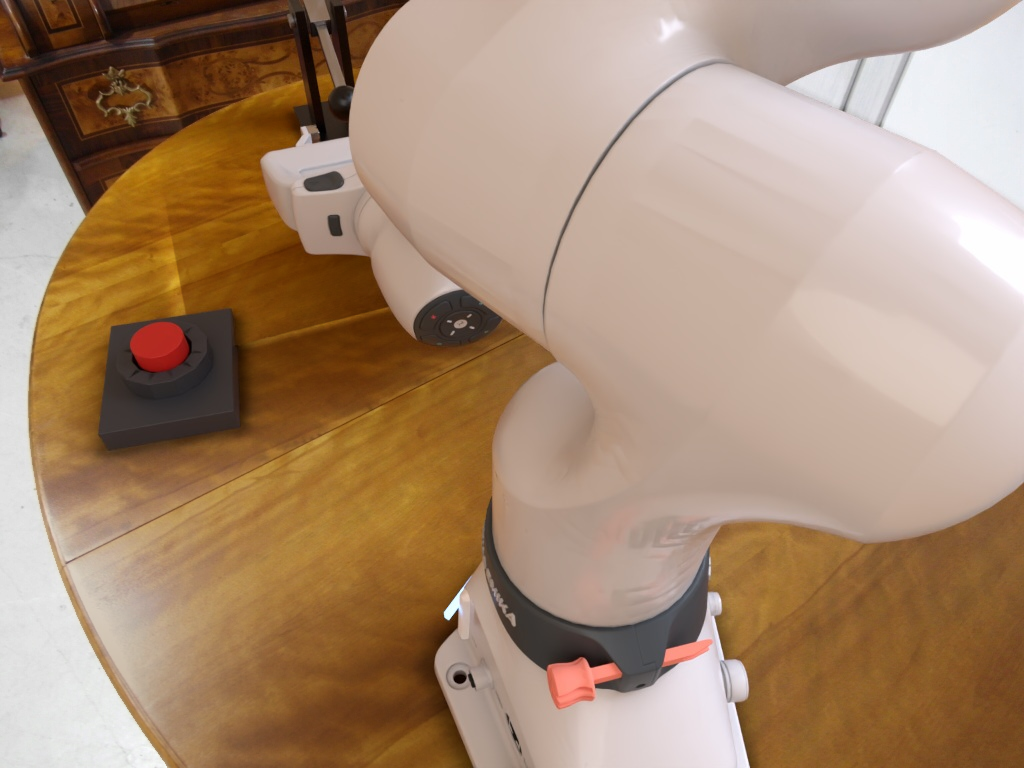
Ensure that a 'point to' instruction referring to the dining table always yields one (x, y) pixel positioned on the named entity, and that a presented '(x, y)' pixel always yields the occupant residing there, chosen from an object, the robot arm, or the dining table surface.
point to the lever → (329, 57)
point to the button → (159, 347)
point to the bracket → (315, 108)
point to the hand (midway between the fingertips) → (357, 123)
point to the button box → (172, 385)
